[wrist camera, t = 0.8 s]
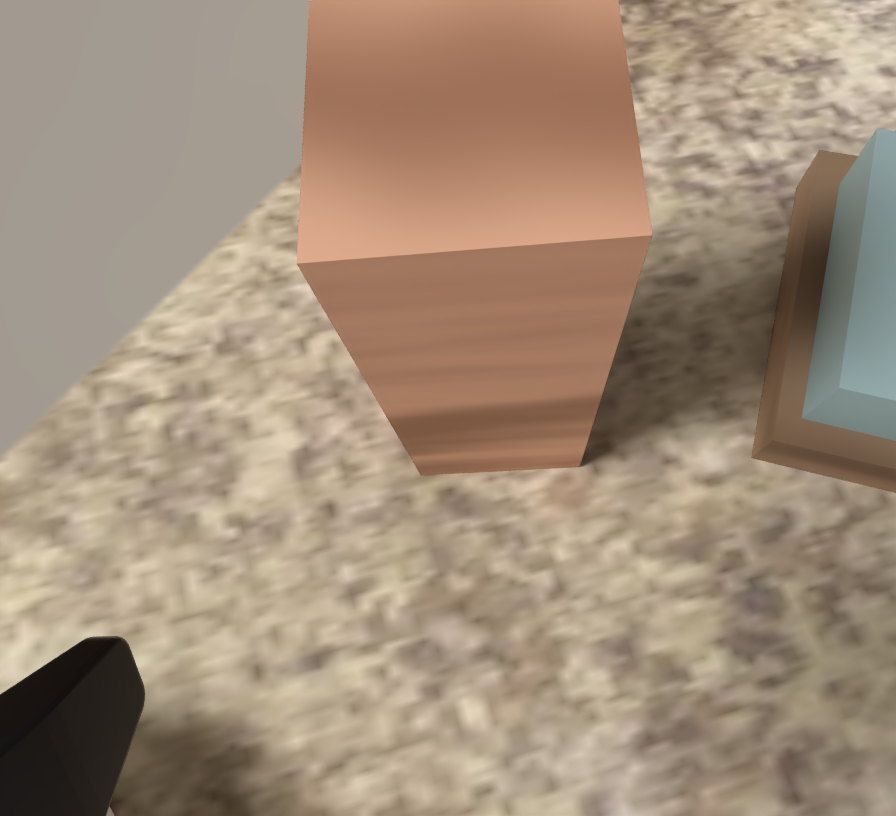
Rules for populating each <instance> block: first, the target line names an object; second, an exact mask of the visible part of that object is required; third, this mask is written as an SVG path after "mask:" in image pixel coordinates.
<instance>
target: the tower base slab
mask: <svg viewBox="0 0 896 816" xmlns="http://www.w3.org/2000/svg"><path fill="white" fill-rule="evenodd" d="M857 158H858V156H853V155H847V154H841V153H834V152H828V151H822V150H819V152H818V153H817V155H816V157H815V158H814V160H813V162H812V163H811V165H810V167H809V168H808V170H807V171H806V173H805V175H804V176H803V178H802V180H801V181H800V183H799V185H798V186H797V188H796V194H795V200H794V206H793V212H792V218H791V224H790V230H789V236H788V242H787V248H786V254H785V260H784V266H783V272H782V278H781V284H780V290H779V296H778V302H777V308H776V314H775V320H774V326H773V332H772V338H771V344H770V349H769V355H768V361H767V367H766V373H765V379H764V385H763V391H762V397H761V403H760V409H759V415H758V421H757V427H756V433H755V439H754V445H753V451H752V457H751V458H754V459H758V460H762V461H766V462H770V463H774V464H779V465H783V466H787V467H791V468H795V469H799V470H804V471H808V472H812V473H816V474H820V475H824V476H828V477H833V478H837V479H841V480H845V481H849V482H853V483H858V484H862V485H866V486H870V487H874V488H878V489H883V490H887V491H891V492H895V493H896V441H894V440H890V439H886V438H881V437H877V436H873V435H869V434H865V433H860V432H856V431H852V430H848V429H844V428H840V427H835V426H831V425H827V424H823V423H819V422H814V421H810V420H806V419H802V413H803V407H804V401H805V395H806V389H807V382H808V376H809V370H810V364H811V358H812V351H813V345H814V339H815V333H816V327H817V320H818V314H819V308H820V302H821V296H822V289H823V283H824V277H825V271H826V265H827V258H828V252H829V246H830V240H831V234H832V228H833V221H834V215H835V209H836V203H837V197H838V191H839V185H840V183H841V181H842V180H843V178H844V177H845V175H846V174H847V172H848V171H849V169H850V168H851V167H852V165H853V164H854V162H855V161H856V159H857Z"/></svg>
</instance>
